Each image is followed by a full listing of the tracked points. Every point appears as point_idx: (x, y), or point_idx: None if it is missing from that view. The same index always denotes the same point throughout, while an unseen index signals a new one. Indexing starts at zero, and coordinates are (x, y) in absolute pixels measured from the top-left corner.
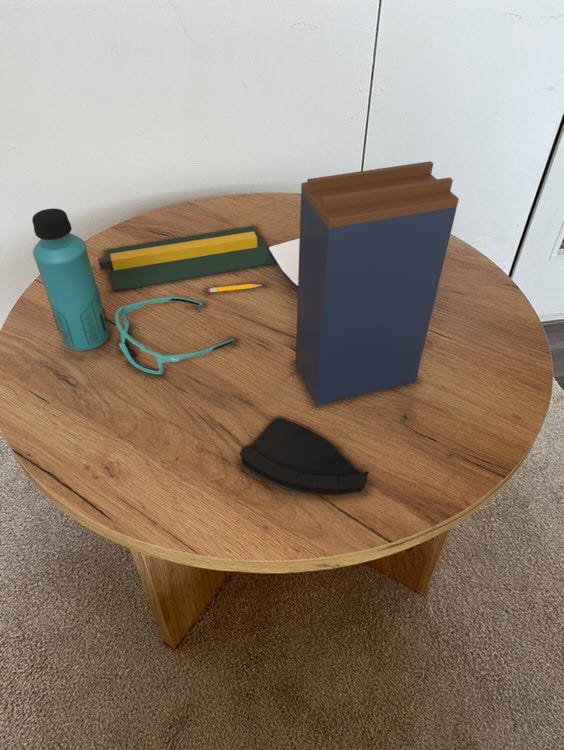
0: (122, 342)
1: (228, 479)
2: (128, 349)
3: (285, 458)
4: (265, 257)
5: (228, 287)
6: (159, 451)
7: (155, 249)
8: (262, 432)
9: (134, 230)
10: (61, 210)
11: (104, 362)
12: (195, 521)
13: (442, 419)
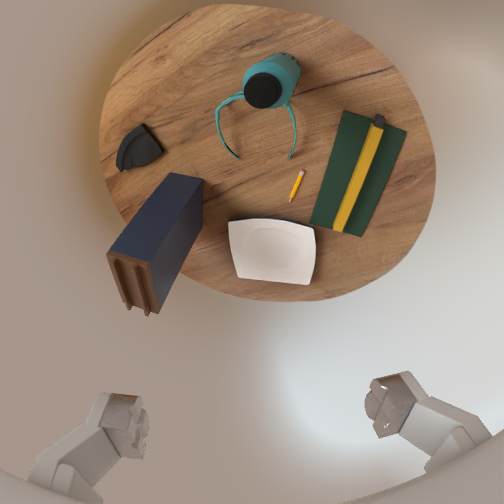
0: None
1: (137, 114)
2: None
3: (137, 144)
4: (317, 221)
5: (296, 183)
6: (164, 85)
7: (366, 163)
8: (154, 140)
9: (421, 166)
10: (266, 106)
11: None
12: (120, 93)
13: None
